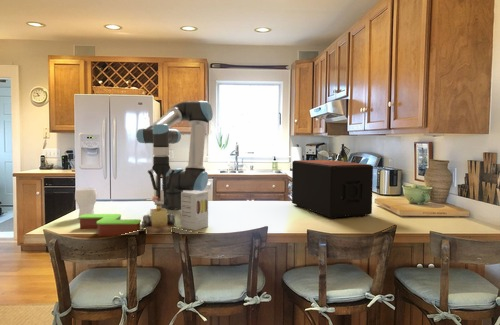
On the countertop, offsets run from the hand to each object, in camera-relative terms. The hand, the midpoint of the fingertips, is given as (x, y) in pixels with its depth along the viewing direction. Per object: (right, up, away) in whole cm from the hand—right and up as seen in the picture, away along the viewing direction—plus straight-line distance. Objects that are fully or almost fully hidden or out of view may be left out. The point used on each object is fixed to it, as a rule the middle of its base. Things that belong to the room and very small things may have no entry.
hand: (161, 203), depth 179 cm
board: (+1, -10, -9) cm, 14 cm away
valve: (+1, -9, -9) cm, 13 cm away
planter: (-20, -11, -14) cm, 27 cm away
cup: (-42, -9, +12) cm, 45 cm away
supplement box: (+17, -10, -7) cm, 21 cm away
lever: (-1, +1, -5) cm, 5 cm away
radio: (+90, -8, +34) cm, 96 cm away
